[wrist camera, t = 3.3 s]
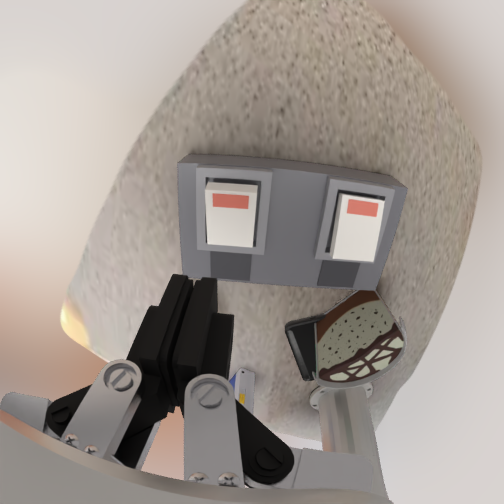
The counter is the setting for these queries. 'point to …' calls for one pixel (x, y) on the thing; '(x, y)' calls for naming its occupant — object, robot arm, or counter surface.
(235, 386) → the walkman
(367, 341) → the food container
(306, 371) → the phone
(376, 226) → the rocker
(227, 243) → the rocker
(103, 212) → the counter surface
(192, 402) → the robot arm
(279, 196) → the rocker switch panel
